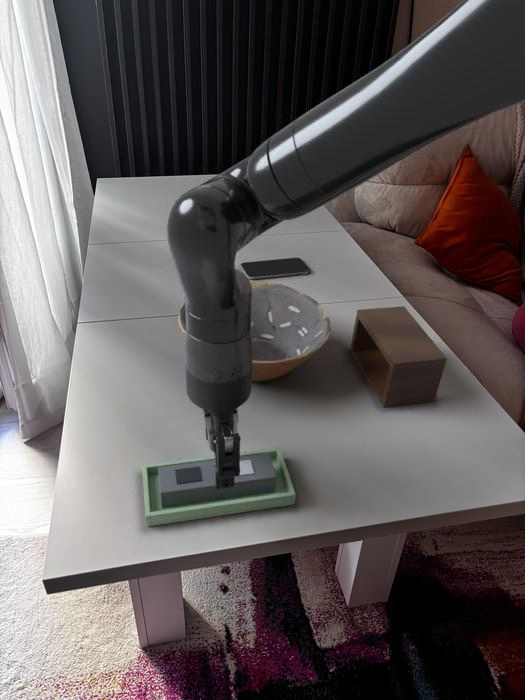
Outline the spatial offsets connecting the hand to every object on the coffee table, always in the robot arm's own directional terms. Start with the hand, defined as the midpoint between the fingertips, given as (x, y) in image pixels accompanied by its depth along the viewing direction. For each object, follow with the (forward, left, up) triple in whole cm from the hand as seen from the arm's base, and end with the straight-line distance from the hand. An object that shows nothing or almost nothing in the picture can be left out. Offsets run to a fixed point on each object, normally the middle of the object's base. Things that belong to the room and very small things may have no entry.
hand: (219, 461), depth 71 cm
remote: (0, 0, -5) cm, 5 cm away
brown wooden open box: (-3, -39, -6) cm, 39 cm away
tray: (0, 0, -6) cm, 6 cm away
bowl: (+16, -24, -6) cm, 30 cm away
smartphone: (+37, -54, -6) cm, 66 cm away
